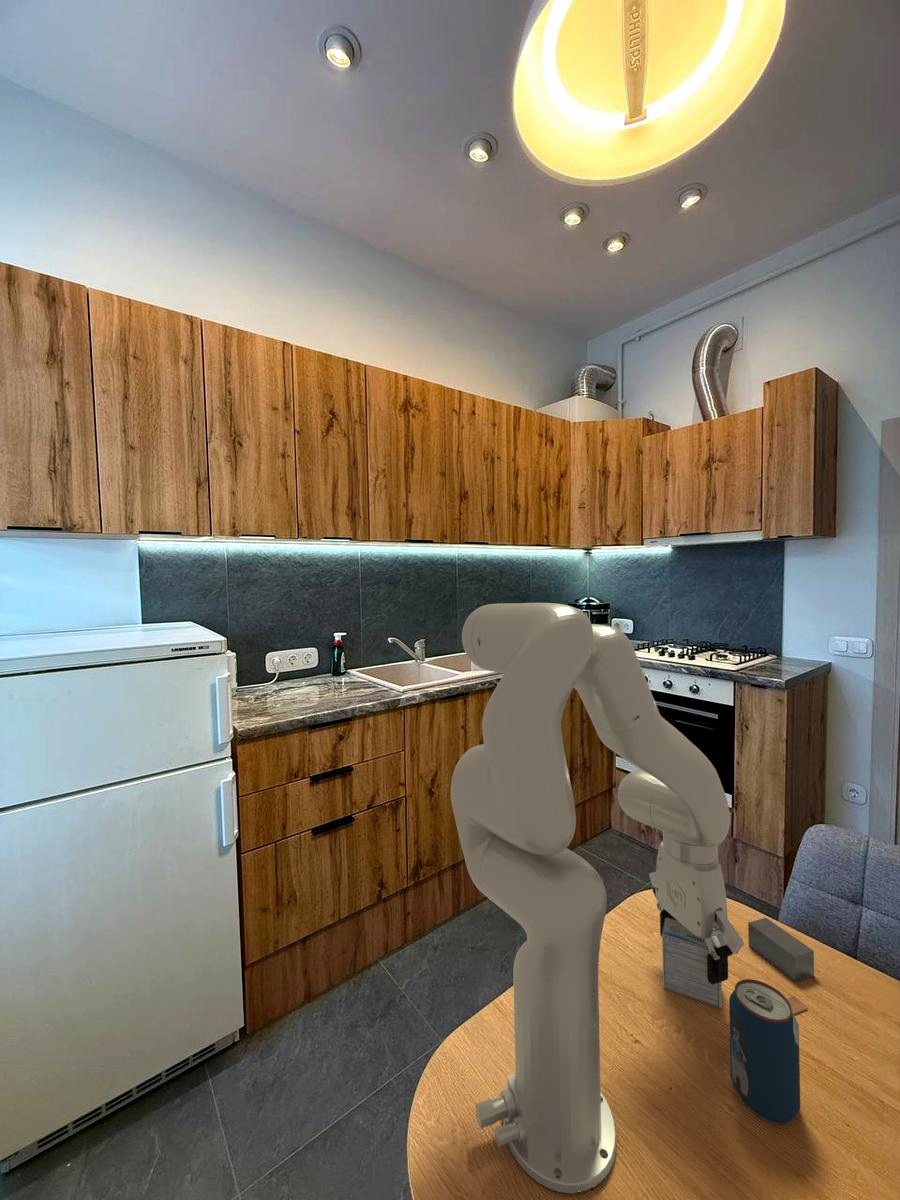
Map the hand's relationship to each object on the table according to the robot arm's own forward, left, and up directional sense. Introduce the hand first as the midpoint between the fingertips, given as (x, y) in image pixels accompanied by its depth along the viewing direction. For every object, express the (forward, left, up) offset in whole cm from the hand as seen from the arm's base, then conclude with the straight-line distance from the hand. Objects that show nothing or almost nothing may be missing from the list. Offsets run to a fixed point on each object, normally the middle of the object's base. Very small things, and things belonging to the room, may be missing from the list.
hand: (692, 956), depth 71 cm
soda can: (-4, -15, -5) cm, 16 cm away
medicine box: (0, 0, -5) cm, 5 cm away
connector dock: (+12, 0, -5) cm, 13 cm away
